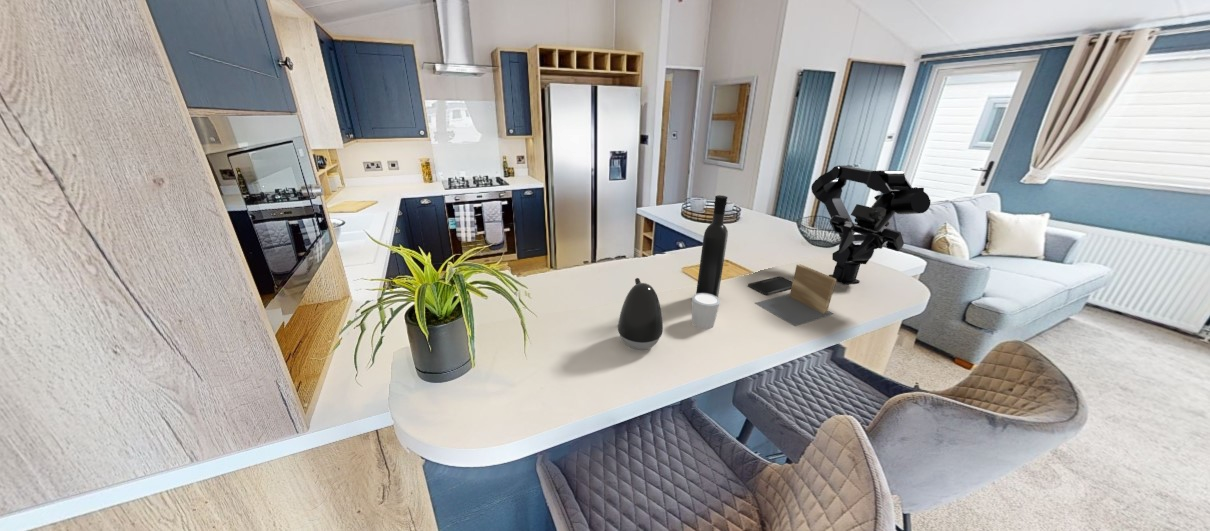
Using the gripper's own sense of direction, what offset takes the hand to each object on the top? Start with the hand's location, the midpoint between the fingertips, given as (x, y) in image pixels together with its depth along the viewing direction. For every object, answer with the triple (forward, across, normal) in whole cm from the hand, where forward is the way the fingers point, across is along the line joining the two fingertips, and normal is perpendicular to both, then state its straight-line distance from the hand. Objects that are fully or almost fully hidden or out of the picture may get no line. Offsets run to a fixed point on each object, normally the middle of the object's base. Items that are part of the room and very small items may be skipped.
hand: (845, 254), depth 109 cm
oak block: (+18, 0, +1) cm, 18 cm away
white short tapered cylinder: (+42, -5, -22) cm, 48 cm away
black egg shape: (+56, -4, -36) cm, 67 cm away
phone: (+18, -13, +2) cm, 22 cm away
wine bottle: (+35, -14, -16) cm, 41 cm away
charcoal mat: (+22, 0, -3) cm, 22 cm away
